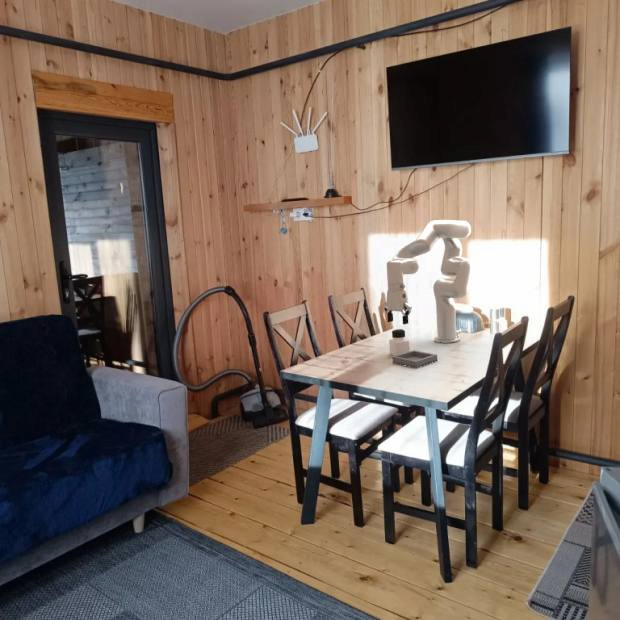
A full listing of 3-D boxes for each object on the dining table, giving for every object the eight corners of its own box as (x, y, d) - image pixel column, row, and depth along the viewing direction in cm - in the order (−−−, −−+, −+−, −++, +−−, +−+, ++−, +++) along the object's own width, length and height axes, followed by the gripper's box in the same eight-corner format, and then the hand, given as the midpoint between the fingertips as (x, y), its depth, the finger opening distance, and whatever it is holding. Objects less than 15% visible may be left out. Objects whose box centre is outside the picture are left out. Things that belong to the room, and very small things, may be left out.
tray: (413, 356, 272) (413, 350, 271) (437, 361, 261) (437, 354, 260) (392, 363, 263) (392, 356, 263) (416, 368, 252) (416, 361, 252)
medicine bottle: (409, 354, 275) (408, 330, 273) (396, 357, 273) (394, 332, 271) (403, 351, 282) (401, 327, 280) (389, 354, 280) (388, 329, 277)
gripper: (415, 286, 267) (417, 323, 270) (388, 284, 281) (390, 319, 284) (404, 289, 263) (406, 326, 266) (377, 287, 276) (379, 322, 279)
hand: (397, 322), depth 275 cm, fingers open, 9 cm apart
